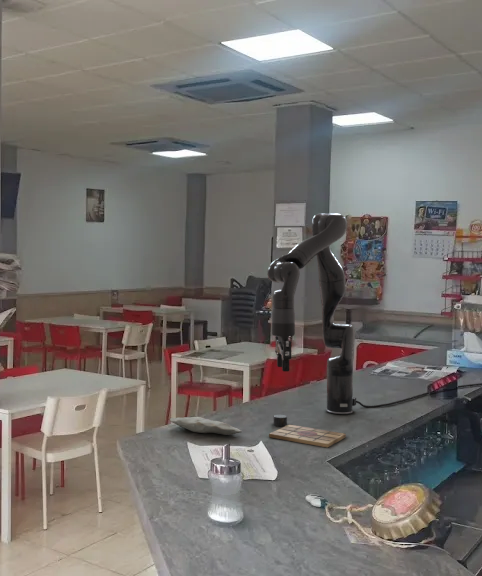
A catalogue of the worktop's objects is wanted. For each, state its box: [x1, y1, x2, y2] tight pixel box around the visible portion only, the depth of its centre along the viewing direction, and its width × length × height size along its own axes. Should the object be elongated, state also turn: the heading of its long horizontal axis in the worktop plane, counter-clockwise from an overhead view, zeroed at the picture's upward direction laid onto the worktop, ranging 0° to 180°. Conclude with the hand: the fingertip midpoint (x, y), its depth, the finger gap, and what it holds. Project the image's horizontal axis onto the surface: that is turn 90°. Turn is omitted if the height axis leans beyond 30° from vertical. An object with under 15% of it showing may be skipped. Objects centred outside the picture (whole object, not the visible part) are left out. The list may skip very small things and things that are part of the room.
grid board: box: [268, 424, 347, 448], centre depth 235 cm, size 15×20×1 cm
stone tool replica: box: [169, 416, 243, 436], centre depth 241 cm, size 15×5×25 cm
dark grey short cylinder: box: [273, 414, 288, 428], centre depth 251 cm, size 5×5×3 cm
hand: (283, 369), depth 242 cm, fingers open, 8 cm apart
